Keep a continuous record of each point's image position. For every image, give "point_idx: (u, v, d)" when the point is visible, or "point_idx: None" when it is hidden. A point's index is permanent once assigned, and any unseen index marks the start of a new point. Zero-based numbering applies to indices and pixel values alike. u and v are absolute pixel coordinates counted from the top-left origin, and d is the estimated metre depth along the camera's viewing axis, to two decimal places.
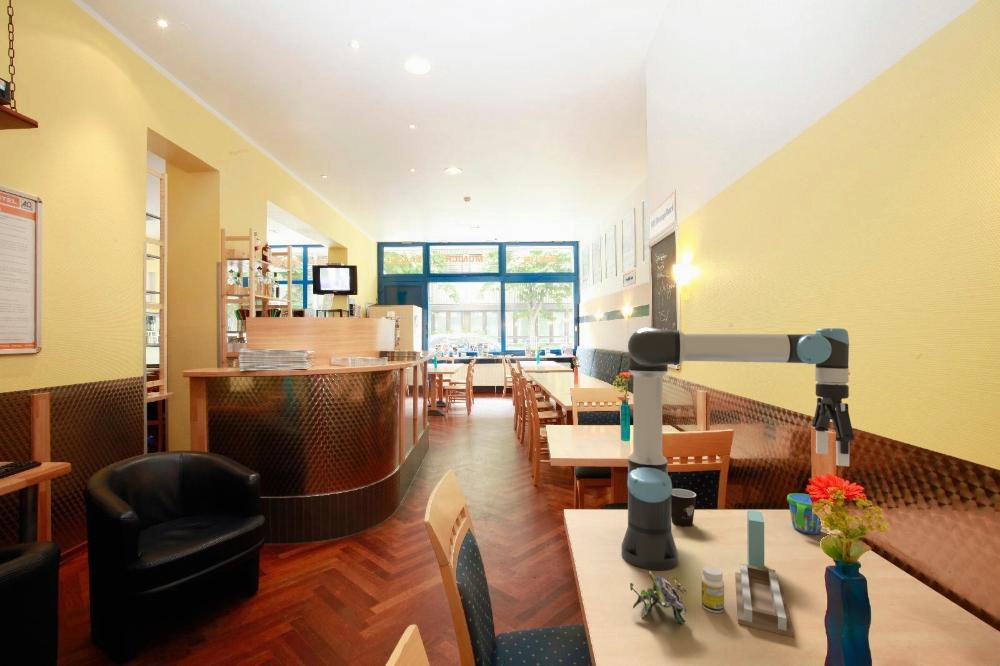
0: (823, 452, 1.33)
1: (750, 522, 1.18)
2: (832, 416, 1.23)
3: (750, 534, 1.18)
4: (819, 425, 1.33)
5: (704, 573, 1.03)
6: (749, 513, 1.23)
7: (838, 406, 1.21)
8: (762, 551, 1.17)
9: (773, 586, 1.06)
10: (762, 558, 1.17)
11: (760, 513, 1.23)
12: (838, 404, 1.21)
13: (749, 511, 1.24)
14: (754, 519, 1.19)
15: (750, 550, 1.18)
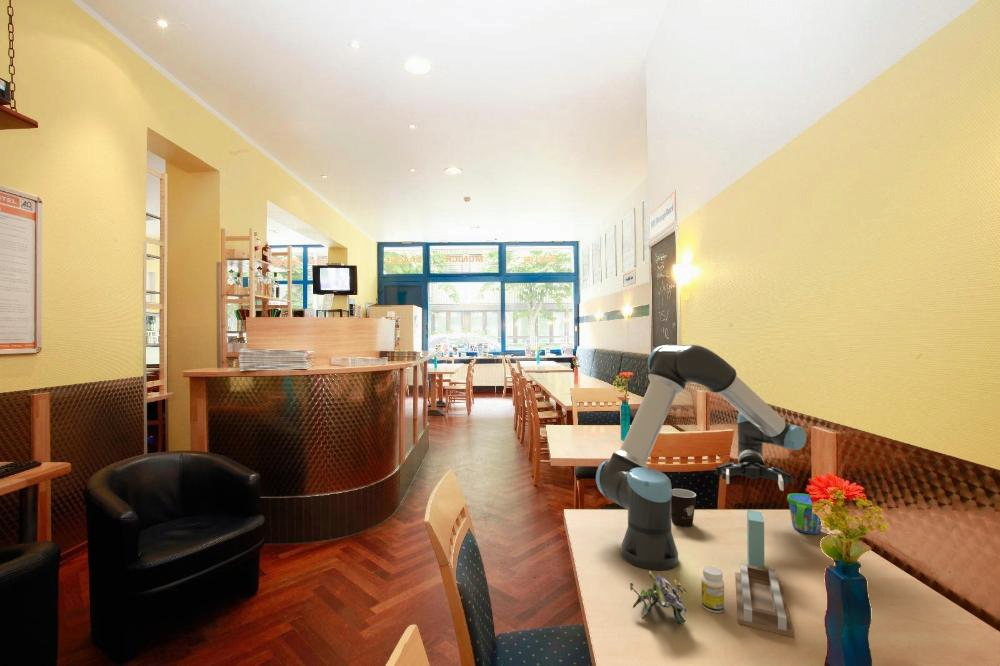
0: None
1: (750, 522, 1.18)
2: None
3: (750, 534, 1.18)
4: (730, 469, 1.40)
5: (704, 573, 1.03)
6: (749, 513, 1.23)
7: None
8: (762, 551, 1.17)
9: (773, 586, 1.06)
10: (762, 558, 1.17)
11: (760, 513, 1.23)
12: None
13: (749, 511, 1.24)
14: (754, 519, 1.19)
15: (750, 550, 1.18)
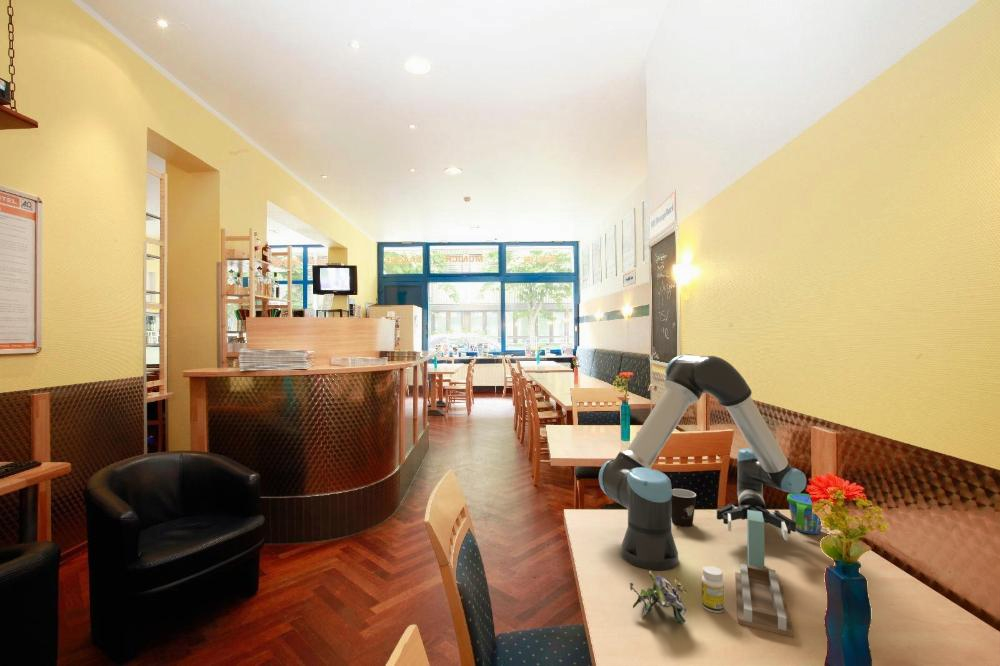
0: None
1: (750, 522, 1.18)
2: None
3: (750, 534, 1.18)
4: (732, 513, 1.36)
5: (704, 573, 1.03)
6: (749, 513, 1.23)
7: (779, 512, 1.37)
8: (762, 551, 1.17)
9: (773, 586, 1.06)
10: (762, 558, 1.17)
11: (760, 513, 1.23)
12: None
13: (749, 511, 1.24)
14: (754, 519, 1.19)
15: (750, 550, 1.18)
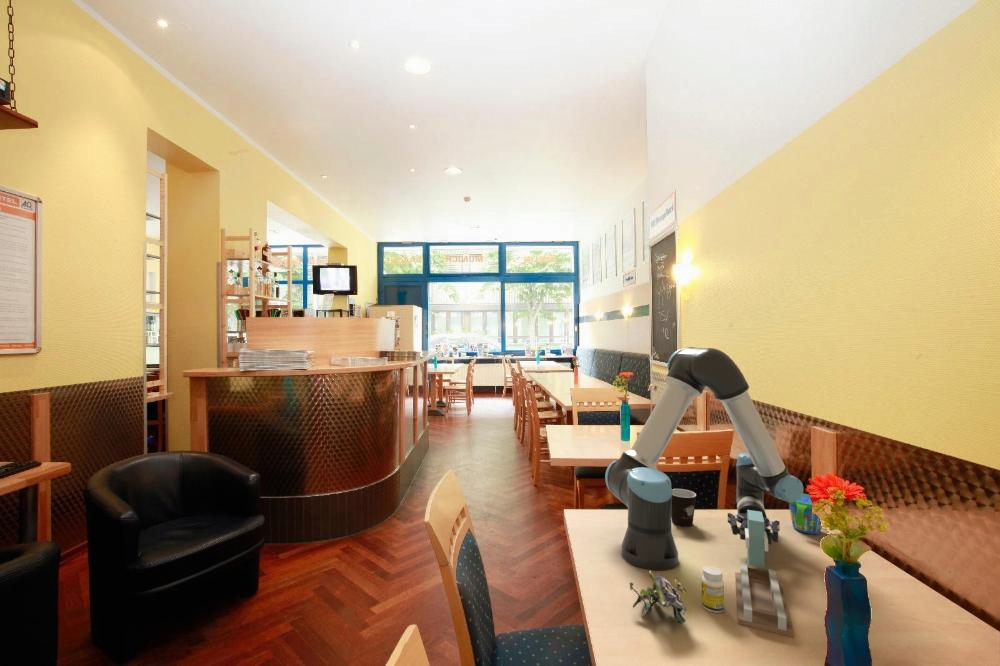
0: None
1: (750, 522, 1.18)
2: None
3: (750, 534, 1.18)
4: (745, 526, 1.25)
5: (704, 573, 1.03)
6: (749, 513, 1.23)
7: (778, 522, 1.28)
8: (762, 551, 1.17)
9: (773, 586, 1.06)
10: (762, 558, 1.17)
11: (760, 513, 1.23)
12: (779, 522, 1.28)
13: (749, 511, 1.24)
14: (754, 519, 1.19)
15: (750, 550, 1.18)
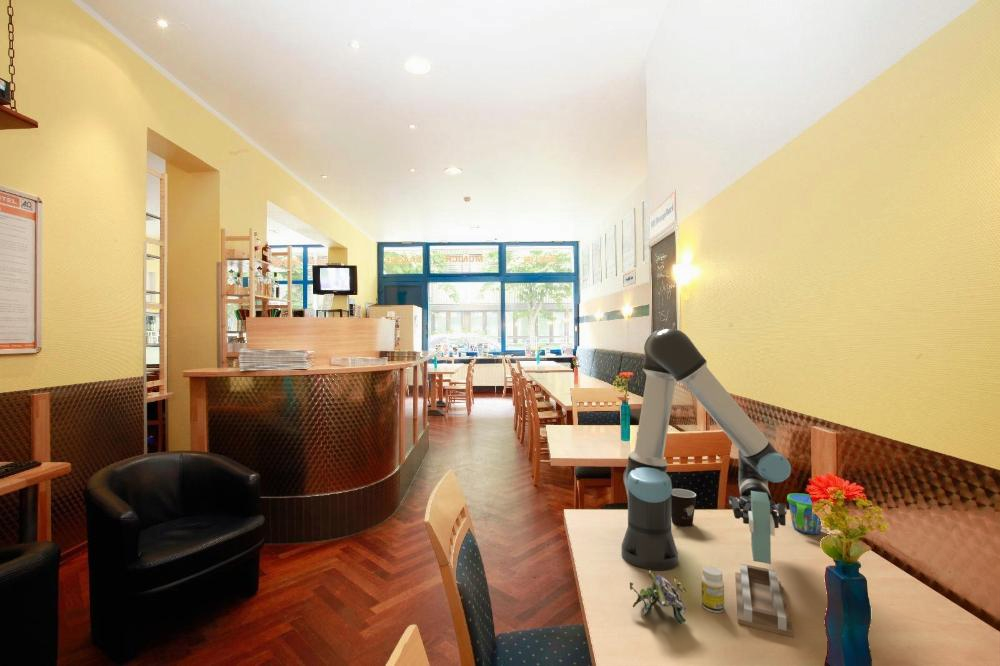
0: None
1: (754, 503, 1.06)
2: None
3: (754, 517, 1.06)
4: (749, 509, 1.13)
5: (704, 573, 1.03)
6: (753, 494, 1.11)
7: (785, 505, 1.16)
8: (768, 535, 1.05)
9: (773, 586, 1.06)
10: (768, 543, 1.05)
11: (765, 494, 1.11)
12: None
13: (753, 492, 1.12)
14: (759, 500, 1.07)
15: (754, 534, 1.06)
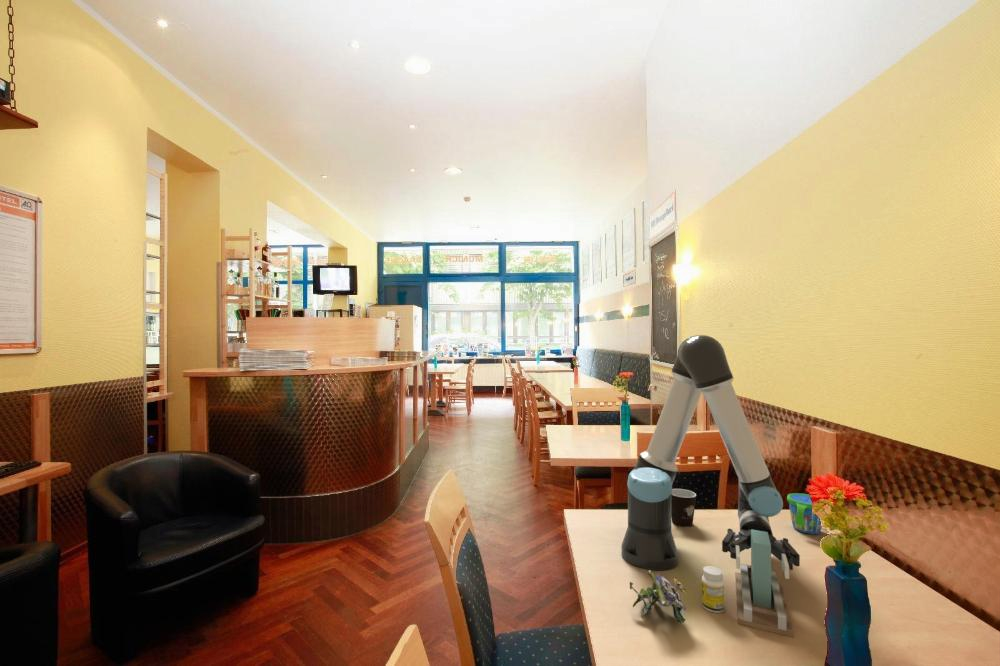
0: None
1: (755, 545, 1.03)
2: None
3: (755, 559, 1.03)
4: (739, 544, 1.11)
5: (704, 573, 1.03)
6: (753, 534, 1.07)
7: None
8: (768, 579, 1.01)
9: (773, 586, 1.06)
10: (768, 587, 1.01)
11: (766, 534, 1.07)
12: None
13: (753, 531, 1.09)
14: (759, 541, 1.03)
15: (755, 577, 1.03)
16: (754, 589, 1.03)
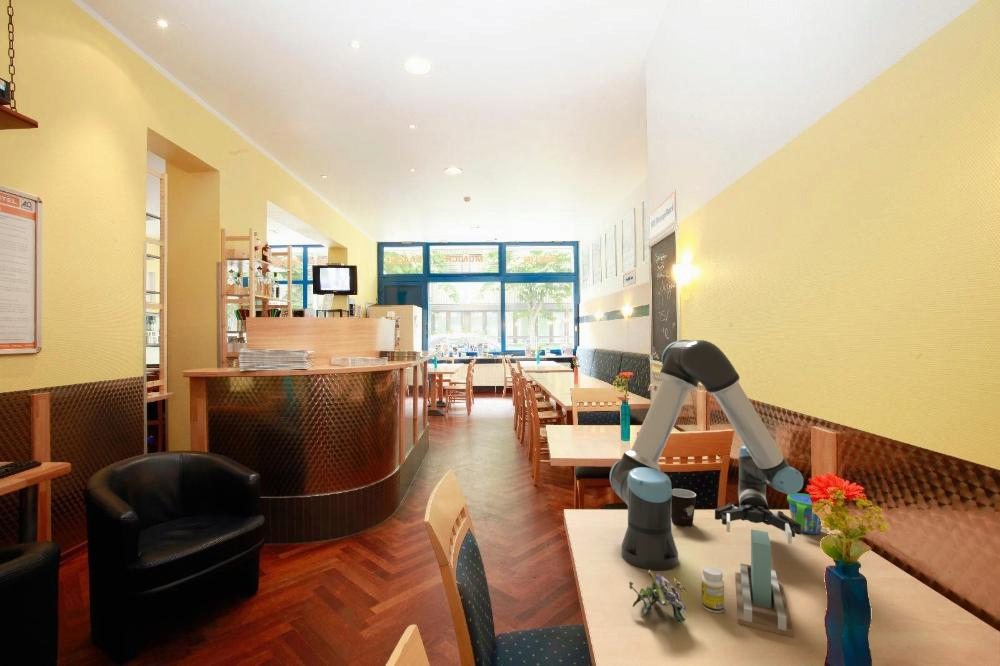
0: (729, 527, 1.18)
1: (755, 545, 1.03)
2: None
3: (755, 559, 1.03)
4: (731, 513, 1.25)
5: (704, 573, 1.03)
6: (753, 534, 1.07)
7: (782, 513, 1.26)
8: (768, 579, 1.01)
9: (773, 586, 1.06)
10: (768, 587, 1.01)
11: (766, 534, 1.07)
12: None
13: (753, 531, 1.09)
14: (759, 541, 1.03)
15: (755, 577, 1.03)
16: (754, 589, 1.03)
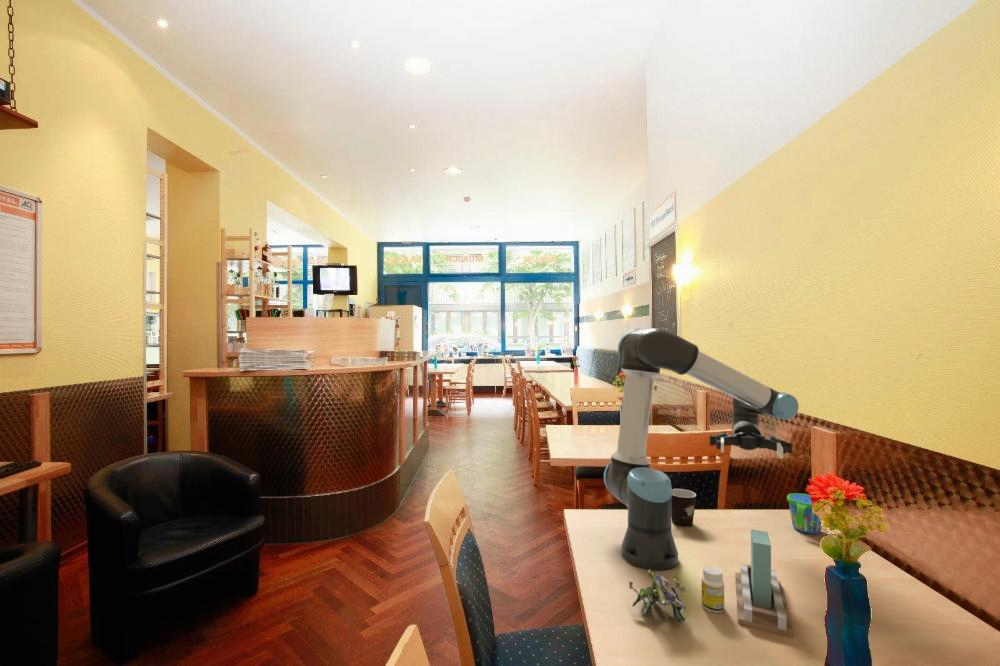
0: (723, 448, 1.23)
1: (755, 545, 1.03)
2: None
3: (755, 559, 1.03)
4: (725, 438, 1.29)
5: (704, 573, 1.03)
6: (753, 534, 1.07)
7: None
8: (768, 579, 1.01)
9: (773, 586, 1.06)
10: (768, 587, 1.01)
11: (766, 534, 1.07)
12: None
13: (753, 531, 1.09)
14: (759, 541, 1.03)
15: (755, 577, 1.03)
16: (754, 589, 1.03)
